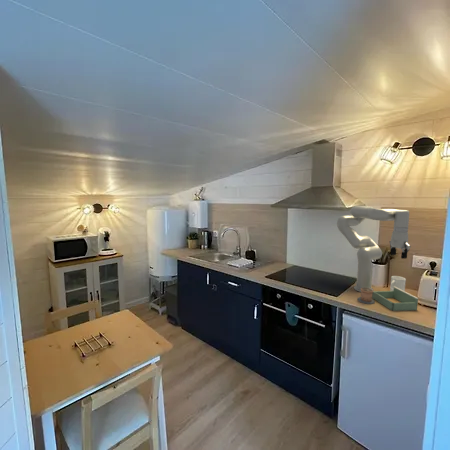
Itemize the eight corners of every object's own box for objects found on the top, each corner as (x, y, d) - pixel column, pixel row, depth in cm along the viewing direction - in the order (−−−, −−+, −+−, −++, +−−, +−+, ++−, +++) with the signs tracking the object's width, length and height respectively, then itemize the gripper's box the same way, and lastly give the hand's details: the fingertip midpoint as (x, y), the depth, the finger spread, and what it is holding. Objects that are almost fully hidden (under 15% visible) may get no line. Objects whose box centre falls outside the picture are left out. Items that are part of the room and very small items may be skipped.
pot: (357, 297, 175) (358, 287, 174) (368, 297, 176) (368, 287, 175) (364, 302, 168) (365, 291, 167) (375, 302, 169) (375, 291, 168)
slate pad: (354, 297, 177) (354, 297, 177) (368, 297, 177) (368, 296, 177) (363, 304, 167) (363, 303, 167) (378, 303, 167) (378, 302, 167)
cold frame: (372, 297, 177) (372, 286, 176) (394, 297, 178) (395, 286, 178) (392, 310, 158) (393, 298, 157) (417, 310, 159) (418, 298, 158)
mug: (384, 291, 189) (385, 277, 187) (395, 289, 193) (396, 275, 192) (396, 296, 181) (397, 281, 179) (407, 293, 186) (408, 278, 184)
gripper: (385, 228, 173) (383, 253, 175) (404, 231, 156) (402, 260, 158) (396, 228, 174) (394, 253, 175) (417, 231, 156) (414, 259, 158)
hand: (398, 256), depth 167 cm, fingers open, 9 cm apart
